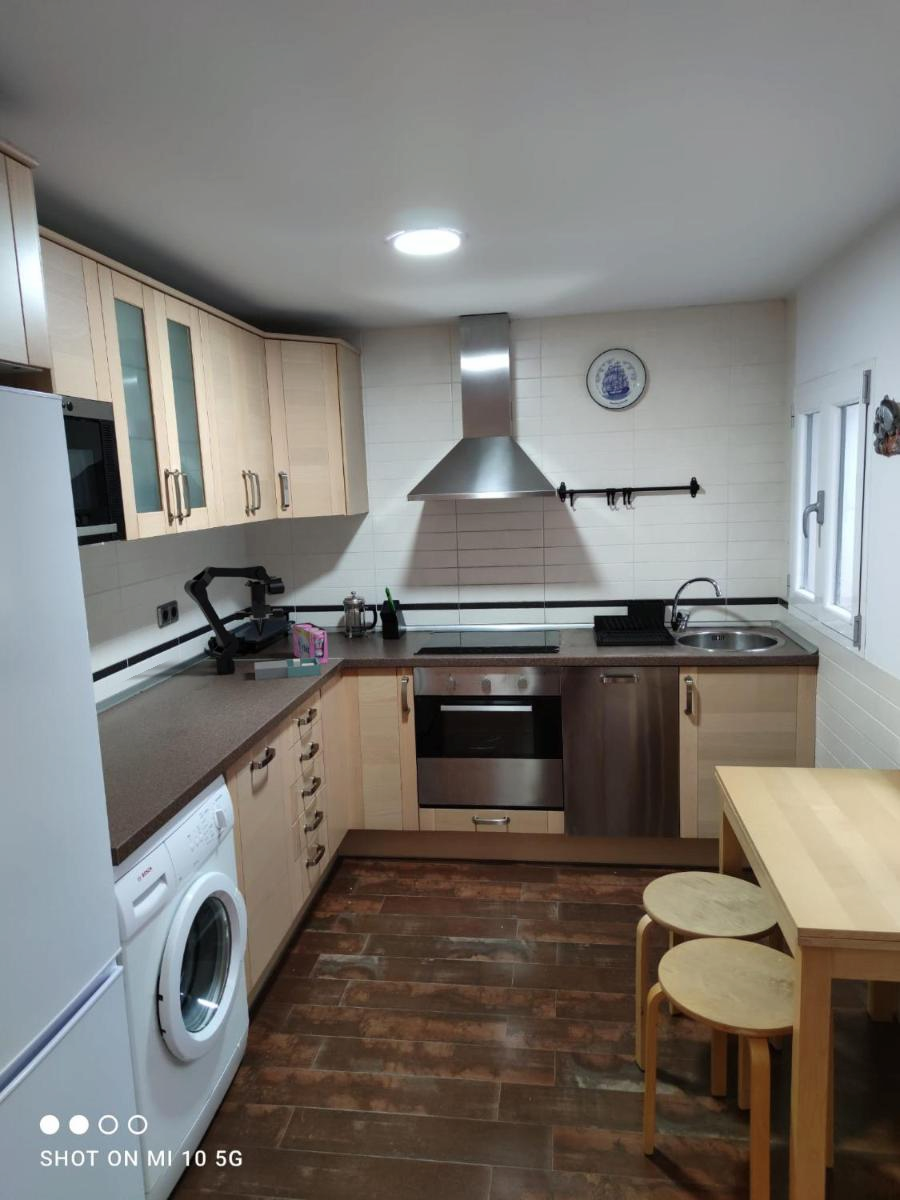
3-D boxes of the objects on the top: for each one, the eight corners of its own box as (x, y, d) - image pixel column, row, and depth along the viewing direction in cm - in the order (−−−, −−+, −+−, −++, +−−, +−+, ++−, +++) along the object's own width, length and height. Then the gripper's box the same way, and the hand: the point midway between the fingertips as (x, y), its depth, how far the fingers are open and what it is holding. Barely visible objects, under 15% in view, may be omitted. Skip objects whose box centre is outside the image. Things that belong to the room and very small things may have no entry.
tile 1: (293, 661, 296) (300, 661, 297) (293, 659, 301) (299, 658, 301) (294, 673, 297) (300, 672, 298) (293, 670, 301) (300, 670, 302)
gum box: (330, 663, 315) (328, 630, 313) (311, 666, 311) (309, 632, 309) (311, 653, 336) (309, 622, 334) (293, 655, 332) (291, 623, 330)
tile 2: (314, 665, 298) (314, 671, 298) (313, 663, 302) (313, 669, 303) (302, 666, 297) (302, 672, 297) (301, 663, 301) (302, 670, 302)
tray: (288, 677, 292) (287, 667, 291) (286, 669, 305) (285, 659, 305) (320, 675, 295) (320, 664, 294) (317, 667, 308) (317, 657, 308)
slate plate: (255, 679, 290) (254, 669, 289) (254, 672, 301) (254, 662, 301) (288, 677, 293) (287, 666, 292) (286, 670, 304) (286, 660, 304)
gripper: (233, 601, 297) (235, 641, 300) (283, 598, 302) (285, 637, 304) (233, 597, 308) (236, 636, 310) (281, 594, 313) (284, 632, 315)
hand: (260, 635), depth 310 cm, fingers closed
